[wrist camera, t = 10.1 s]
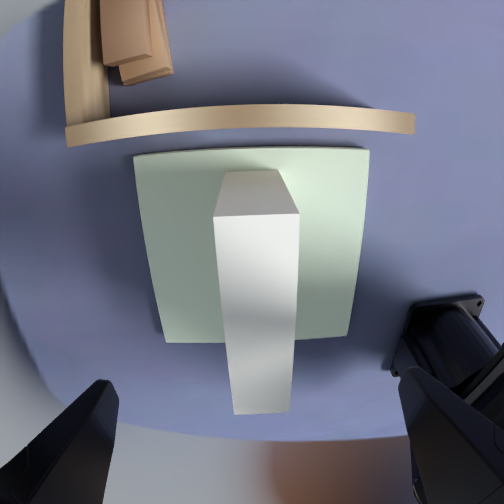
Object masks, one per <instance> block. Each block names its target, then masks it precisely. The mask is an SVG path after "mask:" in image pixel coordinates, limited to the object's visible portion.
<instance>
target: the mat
mask: <svg viewBox="0 0 504 504" xmlns="http://www.w3.org/2000/svg"><path fill="white" fill-rule="evenodd" d="M369 151H370V150H368V149H366V148H350V147H320V146H263V147H232V148H212V149H196V150H183V151H171V152H160V153H150V154H141V155H136V156H134V157H133V161H134V170H135V178H136V186H137V194H138V201H139V208H140V215H141V221H142V228H143V234H144V240H145V245H146V251H147V257H148V262H149V267H150V273H151V278H152V283H153V287H154V292H155V297H156V302H157V306H158V311H159V315H160V319H161V324H162V328H163V332H164V336H165V340H166V343H225V334H224V325H223V316H222V306H221V297H220V287H219V277H218V266H217V256H216V245H215V233H214V222H213V215H214V212H215V208H216V204H217V200H218V196H219V193H220V189H221V185H222V181H223V178H224V174H225V172H234V171H258V170H279V172H280V174H281V176H282V178H283V180H284V182H285V184H286V186H287V188H288V190H289V193H290V195H291V197H292V199H293V201H294V203H295V205H296V207H297V209H298V211H299V213H300V222H299V258H298V284H297V305H296V324H295V340H301V339H316V338H328V337H340V336H347V333H348V327H349V322H350V317H351V311H352V305H353V299H354V293H355V287H356V280H357V273H358V266H359V259H360V251H361V243H362V235H363V226H364V216H365V206H366V195H367V183H368V168H369Z"/></svg>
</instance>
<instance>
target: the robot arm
mask: <svg viewBox="0 0 504 504" xmlns="http://www.w3.org/2000/svg"><path fill="white" fill-rule="evenodd" d="M483 305H484V298H483V297H482V296H481V295H474V296H467V297H460V298H452V299H444V300H436V301H428V302H419V303H415V304H413V305H412V306H411V307H410V310H409V313H408V317H407V320H406V323H405V327H404V330H403V333H402V335H401V337H400V340H399V343H398V346H397V350H396V353H395V356H394V359H393V364H392V367H391V369H390V372H391V374H392V376H393V377H398V376H400V378H401V380H400V383H399V386H398V391H399V396H400V400H401V405H402V409H403V414H404V419H405V424H406V429H407V432H408V436H409V439H410V449H411V462H412V463H411V464H412V484H413V491H414V495H415V497H416V499H417V501H418V503H419V504H504V343H503V344H502V346H501V345H500V344H499V343H498V341H497V340H496V339H495V337H494V336H493V335H492V334H491V332H490V331H489V330H488V329H487V328H486V326H485V325H484V324H483V323H482V321H481V320H480V319H479V315H480V312H481V310H482V307H483ZM417 310H418V311H417ZM416 311H417V312H416ZM118 408H119V398H118V395H117V393H116V391H115V389H114V387H113V385H112V383H111V382H110V381H109V380H102V379H99V380H96V381H95V382H94V383H93V384H92V385H91V386H90V387H89V388H88V389H87V390H86V391H84V392H83V393H82V394H81V395H80V396H79V397H78V398H77V399H76V400H75V401H74V402H73V403H72V404H70V405H69V406H68V407H67V408H66V409H65V410H64V411H63V412H62V413H61V414H60V415H59V416H58V417H57V418H55V419H54V420H53V421H52V423H50V424H49V425H48V426H47V427H46V428H45V429H44V430H43V431H42V432H41V433H39V434H38V435H37V436H36V437H35V438H34V439H33V440H32V441H31V442H30V443H29V444H28V445H27V446H26V447H24V448H23V449H22V450H21V451H20V452H19V453H18V454H17V455H16V456H15V457H14V458H12V459H11V460H10V461H9V462H8V463H7V464H5V465H4V466H3V467H1V468H0V504H102V503H103V498H104V492H105V487H106V481H107V476H108V471H109V467H110V462H111V457H112V453H113V448H114V442H115V433H116V424H117V416H118Z"/></svg>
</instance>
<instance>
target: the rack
mask: <svg viewBox="0 0 504 504" xmlns="http://www.w3.org/2000/svg"><path fill="white" fill-rule="evenodd" d="M63 75H64V97H65V111H66V123H67V127H65V134H66V143H67V148H68V147H74V146H79V145H84V144H90V143H96V142H102V141H108V140H115V139H122V138H129V137H136V136H144V135H153V134H162V133H172V132H182V131H195V130H209V129H226V128H252V127H315V128H341V129H358V130H372V131H384V132H395V133H404V134H413V135H414V134H415V114H411V113H404V112H396V111H388V110H379V109H369V108H358V107H345V106H329V105H303V104H251V105H226V106H209V107H196V108H184V109H174V110H165V111H157V112H149V113H142V114H135V115H128V116H122V117H115V118H111V114H110V100H109V82H108V66H107V65H104V62H103V51H102V37H101V18H100V0H65V9H64V29H63Z"/></svg>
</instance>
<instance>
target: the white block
mask: <svg viewBox="0 0 504 504" xmlns="http://www.w3.org/2000/svg"><path fill="white" fill-rule="evenodd" d="M213 222H214V233H215V245H216V256H217V266H218V277H219V287H220V297H221V306H222V316H223V325H224V334H225V343H226V351H227V360H228V368H229V376H230V384H231V392H232V400H233V408H234V415H239V414H266V413H283V412H289V409H290V397H291V384H292V371H293V357H294V341H295V324H296V305H297V284H298V258H299V222H300V213H299V211H298V209H297V207H296V205H295V203H294V201H293V199H292V197H291V195H290V193H289V190H288V188H287V186H286V184H285V182H284V180H283V178H282V176H281V174H280V172H279V170H258V171H234V172H225V174H224V178H223V181H222V185H221V189H220V193H219V196H218V200H217V204H216V208H215V212H214V215H213Z"/></svg>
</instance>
